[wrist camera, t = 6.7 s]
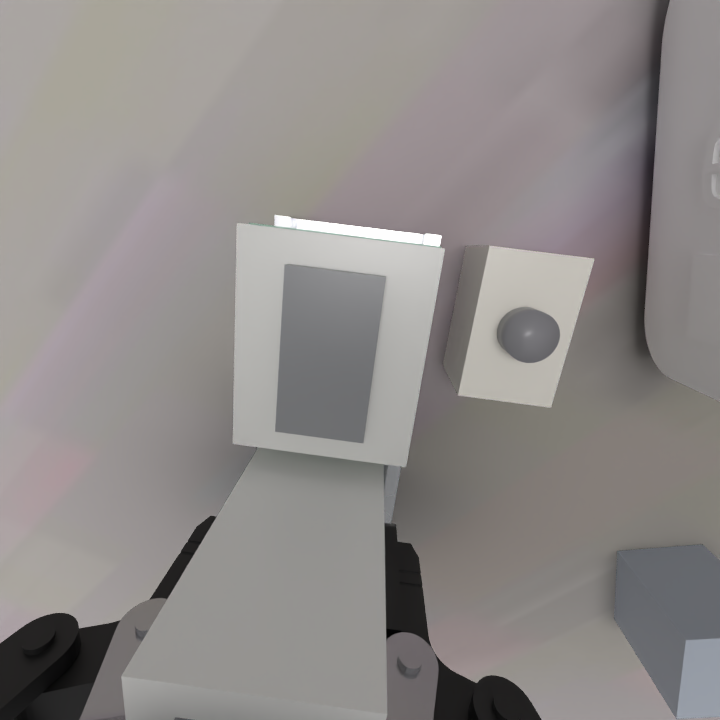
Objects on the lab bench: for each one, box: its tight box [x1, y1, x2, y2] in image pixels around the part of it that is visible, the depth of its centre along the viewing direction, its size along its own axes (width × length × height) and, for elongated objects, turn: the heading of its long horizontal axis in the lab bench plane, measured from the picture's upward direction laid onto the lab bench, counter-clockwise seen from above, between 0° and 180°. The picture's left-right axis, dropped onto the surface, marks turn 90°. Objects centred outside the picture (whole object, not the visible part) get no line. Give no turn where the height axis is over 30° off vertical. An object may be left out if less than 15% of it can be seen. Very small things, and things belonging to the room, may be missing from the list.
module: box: [121, 447, 387, 720], centre depth 10 cm, size 4×6×7 cm
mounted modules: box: [233, 223, 445, 467], centre depth 15 cm, size 5×19×7 cm, turn 173°
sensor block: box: [443, 246, 595, 408], centre depth 15 cm, size 4×6×5 cm, turn 173°
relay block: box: [614, 544, 720, 719], centre depth 19 cm, size 4×5×5 cm
